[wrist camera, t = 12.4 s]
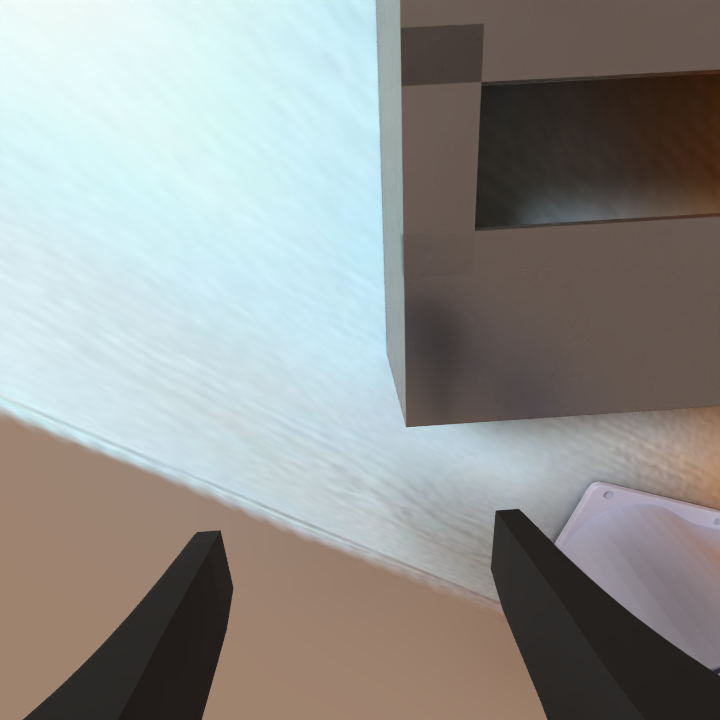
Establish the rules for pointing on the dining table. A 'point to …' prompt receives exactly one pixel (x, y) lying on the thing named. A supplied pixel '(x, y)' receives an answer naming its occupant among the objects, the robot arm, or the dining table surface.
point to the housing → (534, 241)
